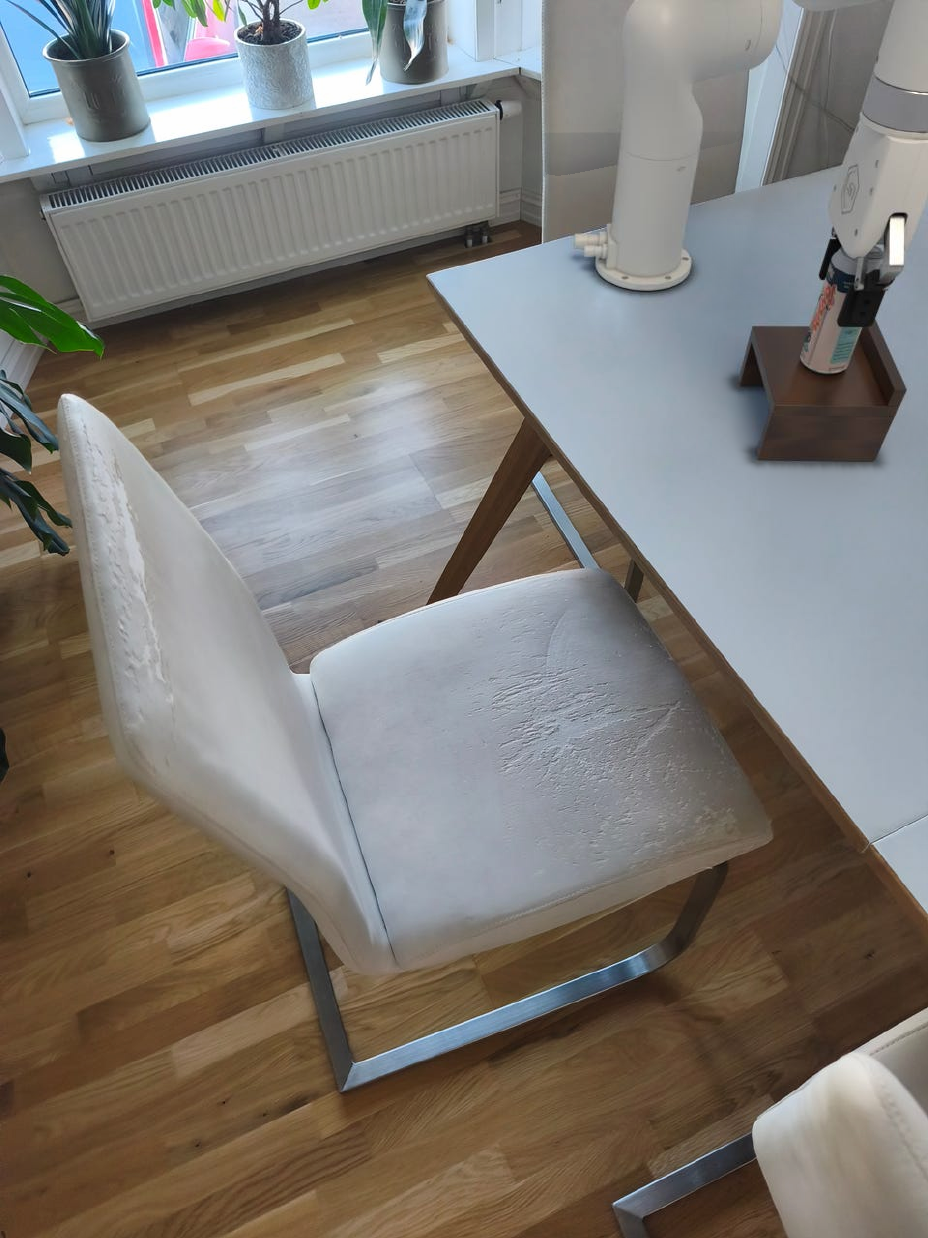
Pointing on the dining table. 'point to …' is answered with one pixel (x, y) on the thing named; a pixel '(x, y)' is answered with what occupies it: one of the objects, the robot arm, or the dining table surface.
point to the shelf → (822, 397)
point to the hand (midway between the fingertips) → (844, 300)
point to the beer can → (833, 318)
